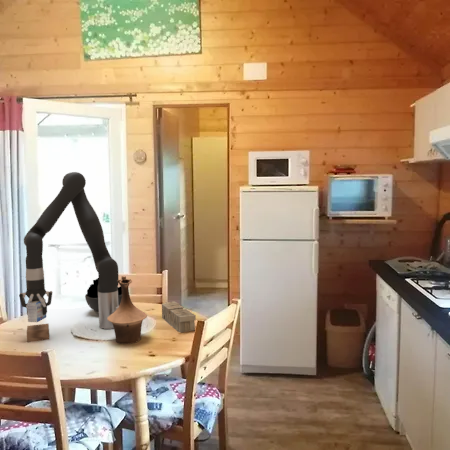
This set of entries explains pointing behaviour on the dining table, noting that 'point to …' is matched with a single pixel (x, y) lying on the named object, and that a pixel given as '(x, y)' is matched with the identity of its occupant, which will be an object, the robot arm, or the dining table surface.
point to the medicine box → (35, 311)
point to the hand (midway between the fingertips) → (37, 315)
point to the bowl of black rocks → (93, 295)
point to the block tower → (178, 317)
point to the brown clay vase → (127, 317)
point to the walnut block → (37, 332)
